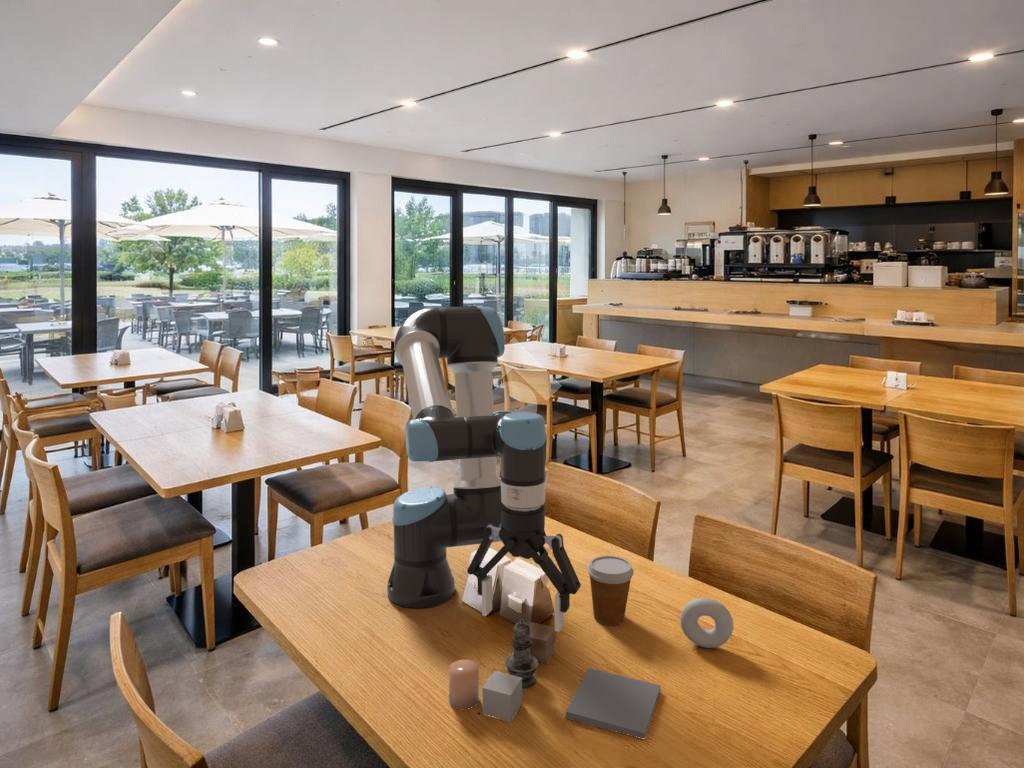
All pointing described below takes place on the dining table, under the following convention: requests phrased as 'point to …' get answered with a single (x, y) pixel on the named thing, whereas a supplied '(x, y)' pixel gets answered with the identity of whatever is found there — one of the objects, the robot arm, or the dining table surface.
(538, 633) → the walnut block
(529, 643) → the salt shaker
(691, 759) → the dining table surface
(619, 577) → the disposable coffee cup
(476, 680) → the peach rounded capsule
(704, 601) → the donut
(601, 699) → the slate board
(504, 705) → the grey block
